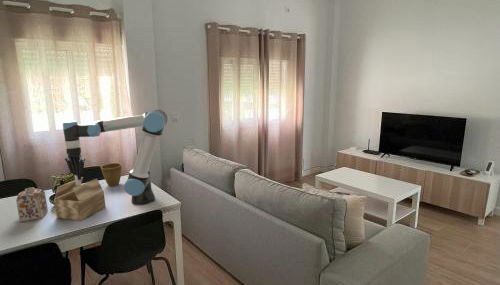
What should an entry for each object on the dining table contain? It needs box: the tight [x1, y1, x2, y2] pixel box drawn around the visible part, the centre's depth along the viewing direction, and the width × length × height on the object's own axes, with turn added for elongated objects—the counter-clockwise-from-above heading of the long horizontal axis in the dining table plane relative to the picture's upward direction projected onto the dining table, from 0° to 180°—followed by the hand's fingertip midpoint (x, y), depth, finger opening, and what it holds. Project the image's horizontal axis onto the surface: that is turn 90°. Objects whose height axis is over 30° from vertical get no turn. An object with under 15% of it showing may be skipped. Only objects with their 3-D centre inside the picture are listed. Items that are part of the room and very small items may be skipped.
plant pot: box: [100, 162, 123, 188], centre depth 237 cm, size 15×15×16 cm
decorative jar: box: [15, 186, 49, 222], centre depth 184 cm, size 12×12×18 cm
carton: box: [53, 189, 107, 222], centre depth 189 cm, size 18×21×12 cm
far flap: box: [54, 176, 84, 199], centre depth 188 cm, size 8×19×1 cm
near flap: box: [73, 177, 104, 201], centre depth 185 cm, size 8×19×1 cm
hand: (78, 184), depth 186 cm, fingers closed
